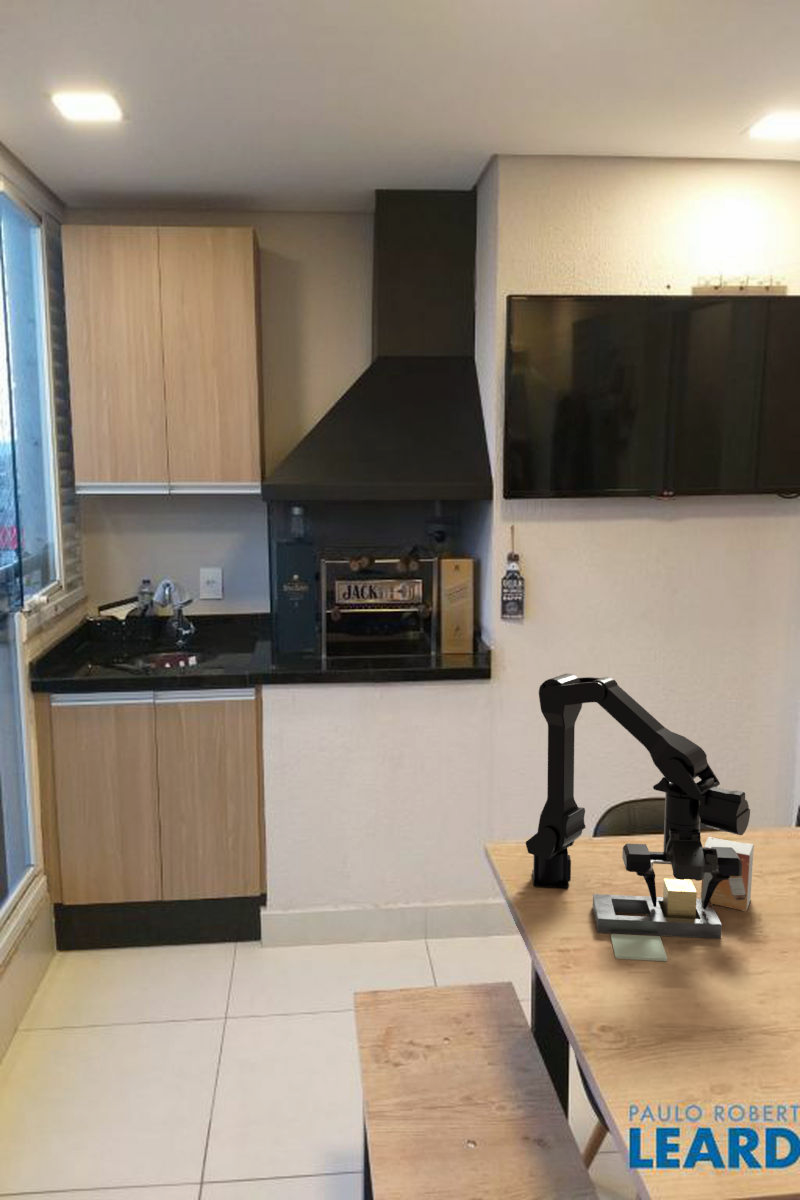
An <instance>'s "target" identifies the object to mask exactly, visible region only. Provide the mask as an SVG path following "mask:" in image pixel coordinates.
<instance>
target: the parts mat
mask: <svg viewBox="0 0 800 1200" xmlns="http://www.w3.org/2000/svg"><path fill="white" fill-rule="evenodd" d="M610 939H611V944H612V945H611V946H612V948H613V953H614V957H615V959H618V960H637V961H653V962H656V961H657V962H668V957H667V953H666V950H665V946H664V945H663V941H662V939H661V936H655V935H634V934H614V933H610Z"/></svg>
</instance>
